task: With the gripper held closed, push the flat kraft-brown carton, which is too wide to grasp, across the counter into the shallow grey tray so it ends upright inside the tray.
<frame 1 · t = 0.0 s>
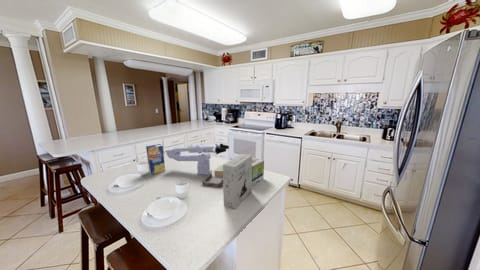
hand: (227, 148, 136), 22 cm above the kitchen island, tool horizontal, fingers open, 7 cm apart
shallow grey tray: (215, 181, 130), on the kitchen island
tea box: (252, 180, 132), on the kitchen island
kraft carton: (221, 173, 144), on the kitchen island
cereal box: (238, 198, 109), on the kitchen island
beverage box: (157, 171, 147), on the kitchen island
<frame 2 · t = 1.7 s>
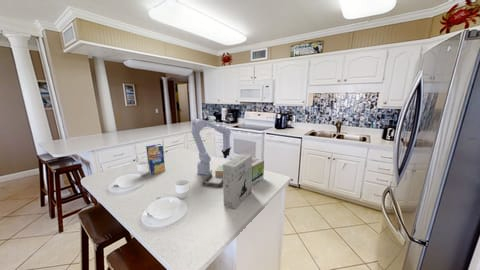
hand: (226, 156, 154), 9 cm above the kitchen island, tool pointing down, fingers open, 6 cm apart
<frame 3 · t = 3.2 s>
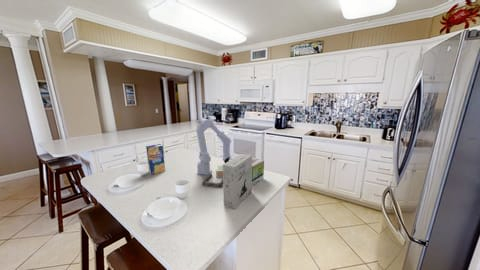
hand: (226, 165, 156), 1 cm above the kitchen island, tool pointing down, fingers closed
nothing on the kitchen island moved.
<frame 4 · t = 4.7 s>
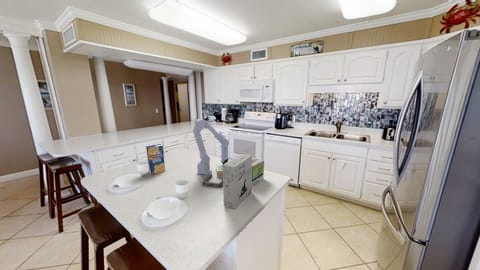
hand: (224, 167, 152), 1 cm above the kitchen island, tool pointing down, fingers closed
kraft carton: (221, 173, 144), on the kitchen island, touching gripper
everything else where it was.
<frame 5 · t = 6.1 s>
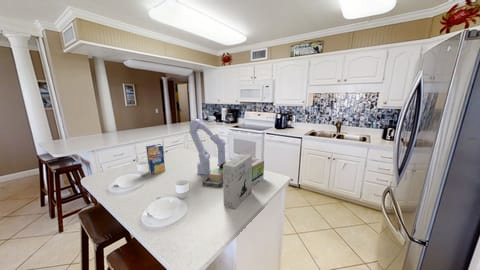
hand: (221, 171, 144), 1 cm above the kitchen island, tool pointing down, fingers closed
kraft carton: (217, 177, 137), on the kitchen island, touching gripper
everything else where it was.
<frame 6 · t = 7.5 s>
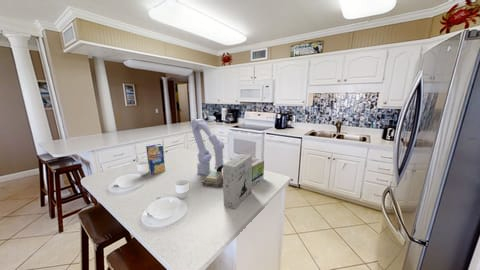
hand: (219, 174, 138), 1 cm above the kitchen island, tool pointing down, fingers closed
kraft carton: (214, 180, 132), on the kitchen island, touching gripper
everything else where it was.
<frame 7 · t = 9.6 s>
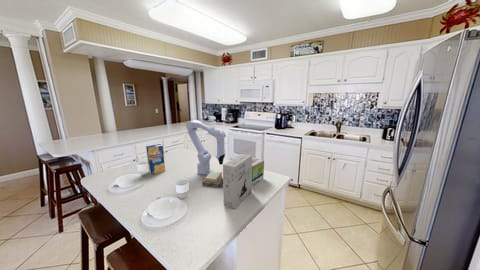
hand: (221, 164, 138), 9 cm above the kitchen island, tool pointing down, fingers closed
kraft carton: (214, 181, 131), on the kitchen island
everything else where it was.
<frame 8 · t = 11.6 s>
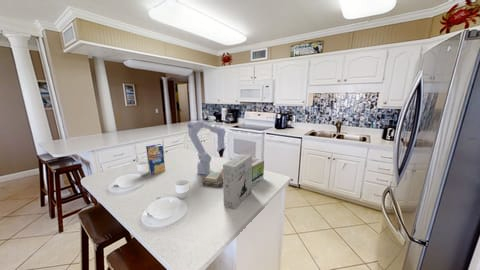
hand: (221, 156, 155), 9 cm above the kitchen island, tool pointing down, fingers closed
nothing on the kitchen island moved.
at the end: kraft carton 1.3 cm off-centre on the shallow grey tray, point 0.0 cm above the shallow grey tray's base; kraft carton tilted 0°; kraft carton moved 13.7 cm from its start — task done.
